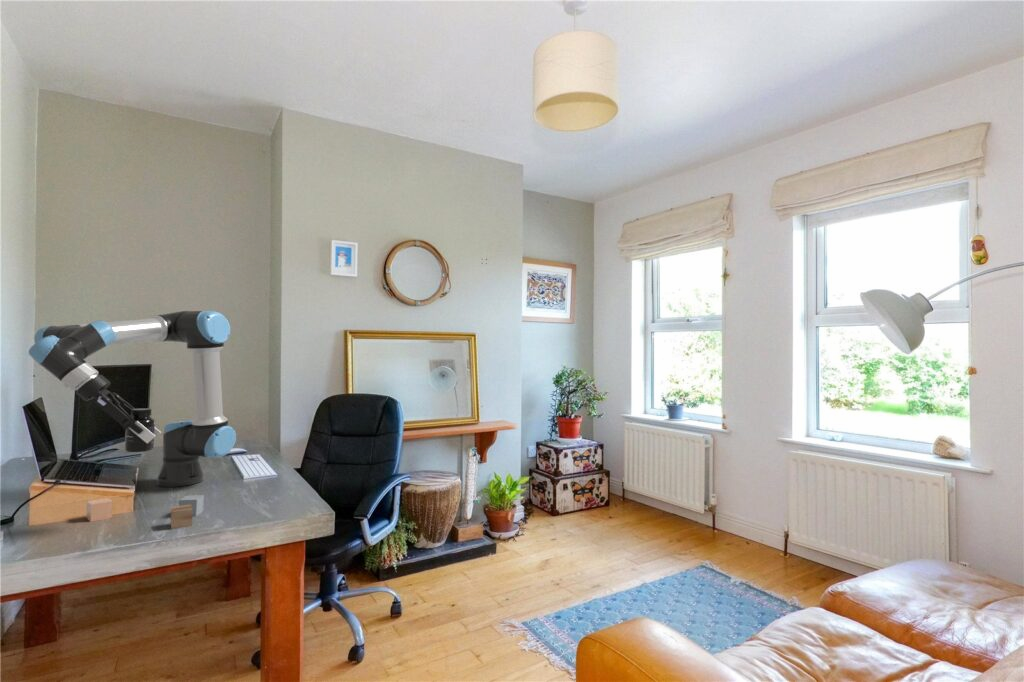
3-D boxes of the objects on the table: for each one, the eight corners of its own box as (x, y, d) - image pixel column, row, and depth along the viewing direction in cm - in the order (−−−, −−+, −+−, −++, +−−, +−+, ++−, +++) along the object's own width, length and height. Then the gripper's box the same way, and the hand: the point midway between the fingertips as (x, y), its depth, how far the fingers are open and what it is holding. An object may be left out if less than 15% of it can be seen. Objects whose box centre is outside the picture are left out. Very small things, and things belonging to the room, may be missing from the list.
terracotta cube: (86, 518, 153) (87, 501, 153) (107, 514, 157) (108, 497, 157) (90, 521, 150) (91, 504, 150) (111, 517, 153) (112, 501, 154)
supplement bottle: (120, 452, 146) (121, 410, 146) (130, 448, 152) (132, 407, 153) (148, 452, 148) (149, 410, 148) (157, 447, 154) (159, 407, 155)
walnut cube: (170, 524, 149) (171, 507, 149) (190, 521, 152) (191, 504, 152) (171, 529, 145) (171, 511, 145) (192, 526, 148) (192, 509, 148)
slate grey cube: (185, 511, 161) (186, 495, 161) (203, 511, 162) (203, 495, 162) (178, 516, 156) (178, 500, 156) (196, 516, 157) (196, 499, 157)
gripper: (86, 389, 153) (150, 441, 159) (62, 395, 135) (134, 453, 142) (109, 371, 155) (171, 423, 162) (88, 375, 137) (158, 433, 144)
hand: (154, 437), depth 152 cm, fingers closed on supplement bottle, 7 cm apart
